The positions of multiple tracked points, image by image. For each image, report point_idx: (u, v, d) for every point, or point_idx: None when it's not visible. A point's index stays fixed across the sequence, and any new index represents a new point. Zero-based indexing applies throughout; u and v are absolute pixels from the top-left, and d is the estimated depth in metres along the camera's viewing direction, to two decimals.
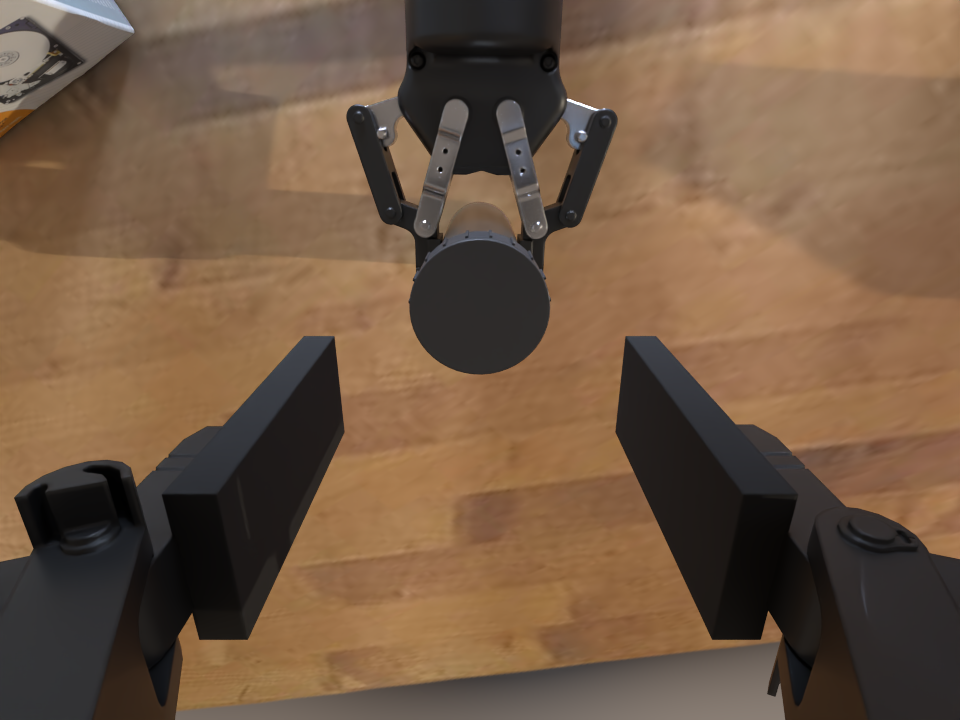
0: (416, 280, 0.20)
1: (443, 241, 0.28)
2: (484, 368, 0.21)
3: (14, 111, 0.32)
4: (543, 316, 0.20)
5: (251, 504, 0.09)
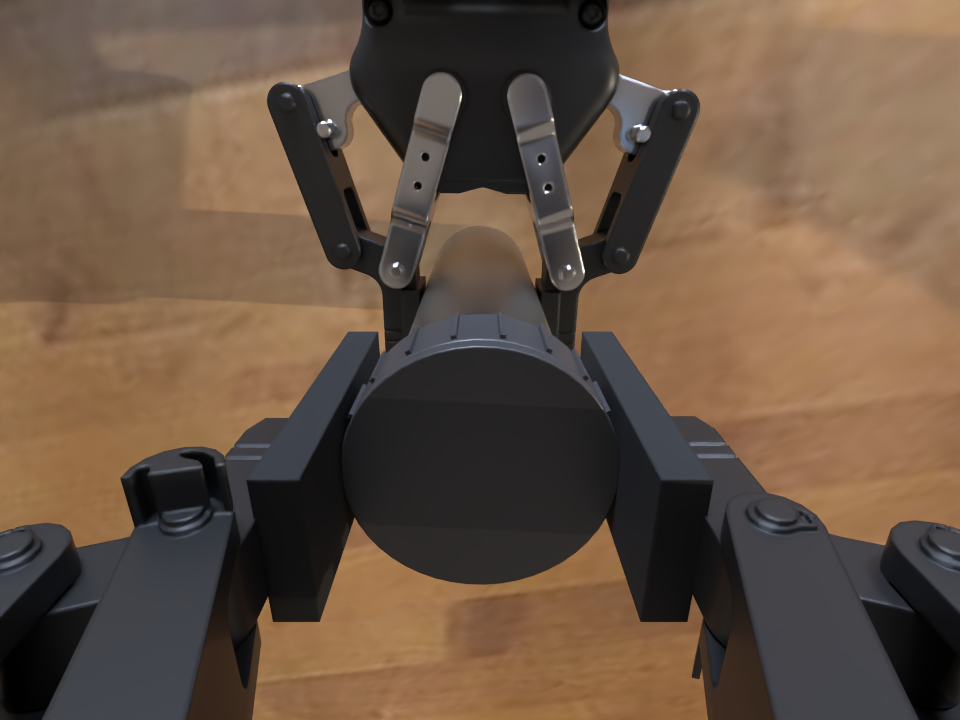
0: (352, 424, 0.10)
1: (422, 299, 0.17)
2: (489, 575, 0.11)
3: None
4: (606, 488, 0.10)
5: (321, 491, 0.09)
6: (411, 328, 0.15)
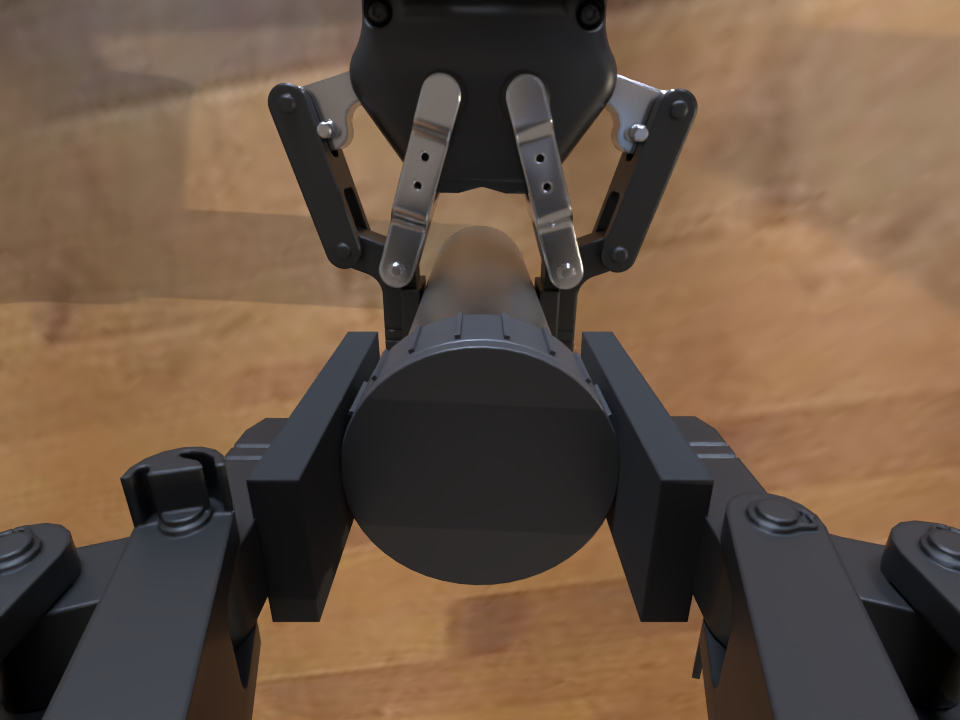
0: (512, 580, 0.11)
1: (423, 298, 0.18)
2: (574, 396, 0.10)
3: None
4: (400, 383, 0.09)
5: (322, 491, 0.09)
6: (411, 326, 0.15)
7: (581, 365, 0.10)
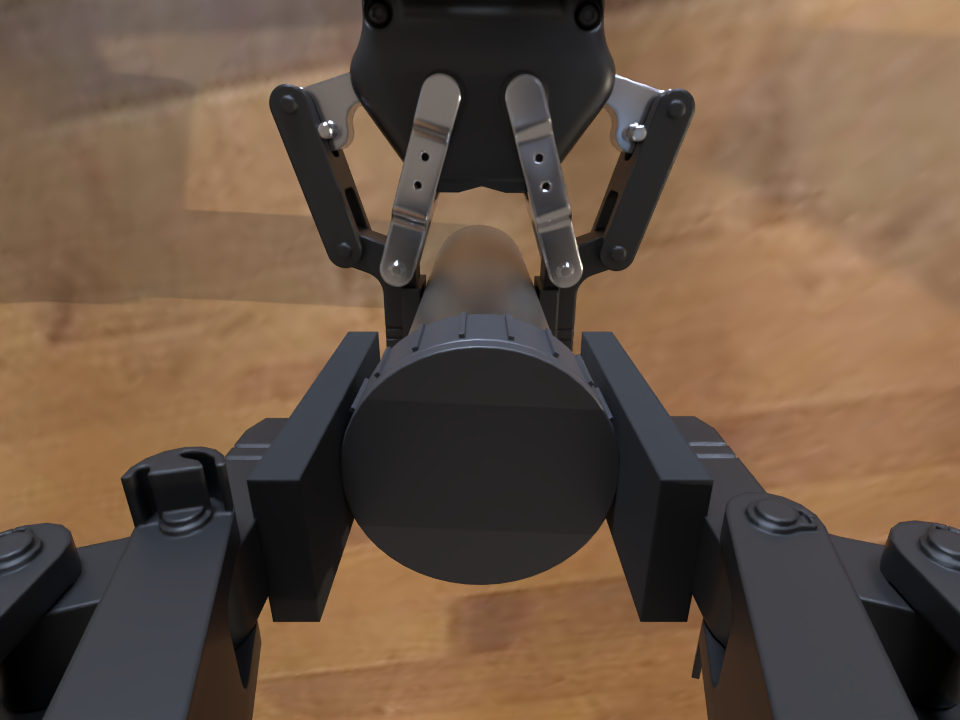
0: (563, 373, 0.09)
1: (423, 296, 0.18)
2: (353, 471, 0.10)
3: None
4: (452, 575, 0.11)
5: (322, 491, 0.09)
6: (412, 325, 0.15)
7: None
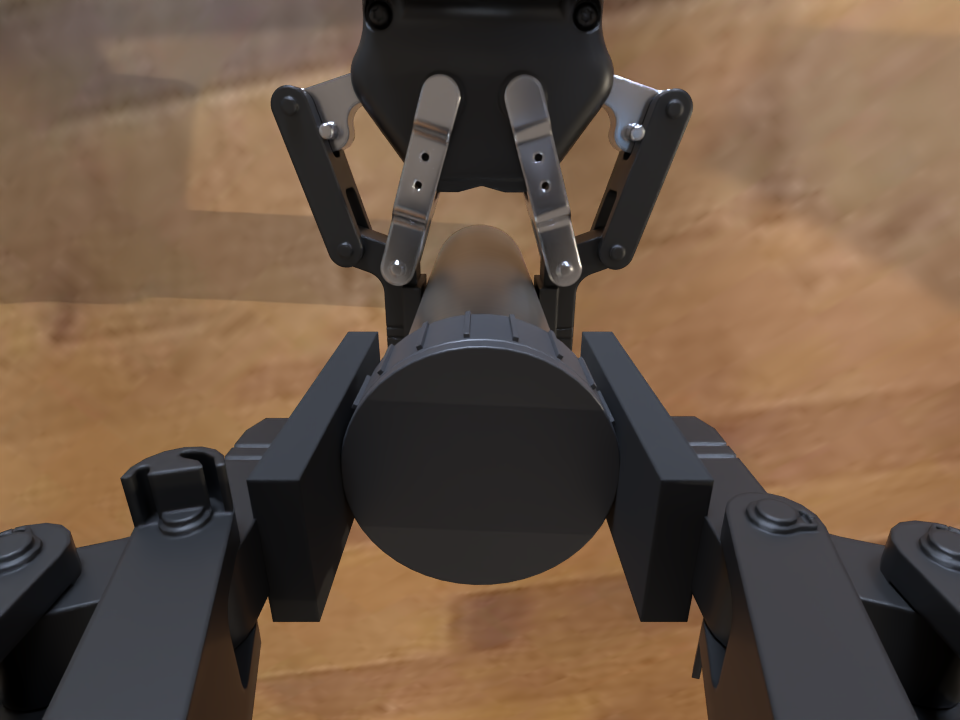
0: (345, 491, 0.10)
1: (424, 295, 0.18)
2: (552, 557, 0.11)
3: None
4: (599, 426, 0.10)
5: (322, 492, 0.09)
6: (413, 323, 0.16)
7: None
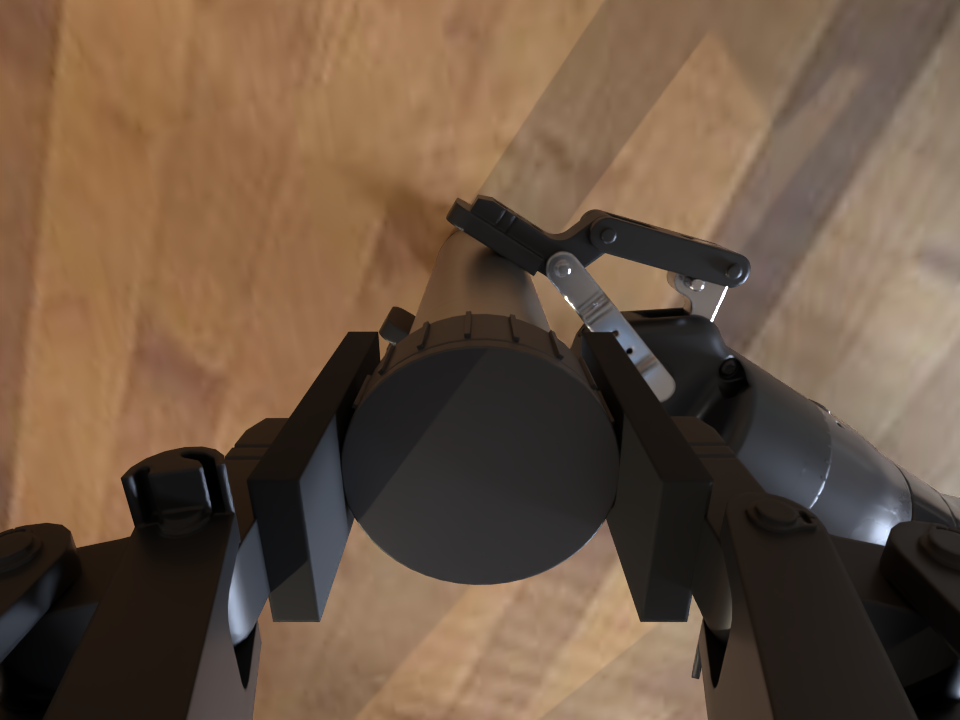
0: (345, 491, 0.10)
1: (538, 298, 0.18)
2: (551, 557, 0.11)
3: None
4: (599, 426, 0.10)
5: (322, 491, 0.09)
6: (545, 318, 0.16)
7: None
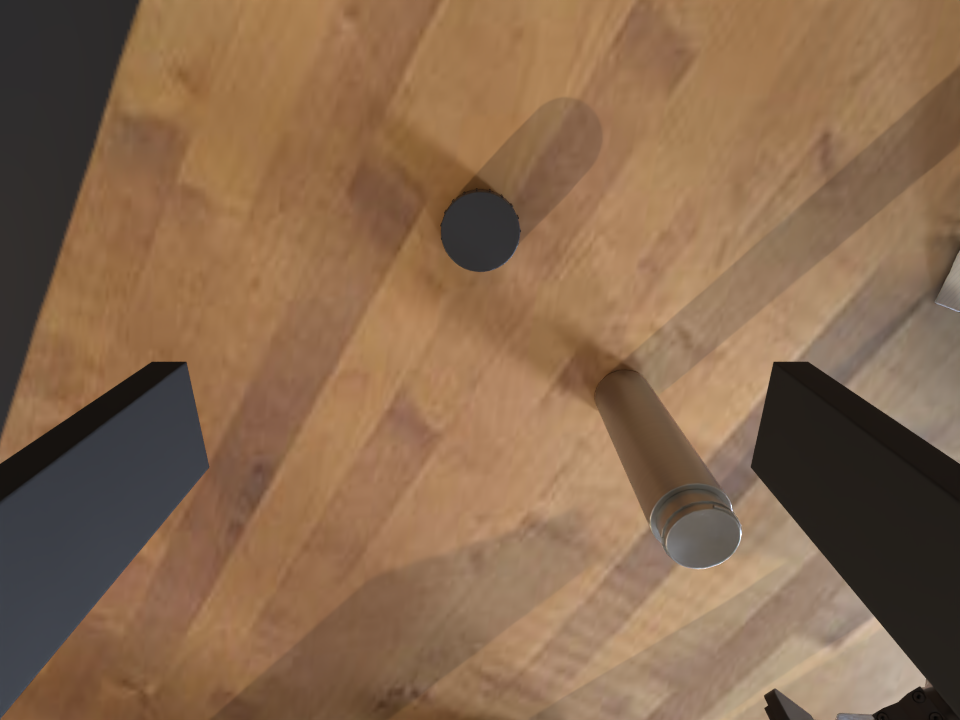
0: (442, 237, 0.36)
1: None
2: (501, 261, 0.37)
3: None
4: (512, 215, 0.36)
5: None
6: None
7: None
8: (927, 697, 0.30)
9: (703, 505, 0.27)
